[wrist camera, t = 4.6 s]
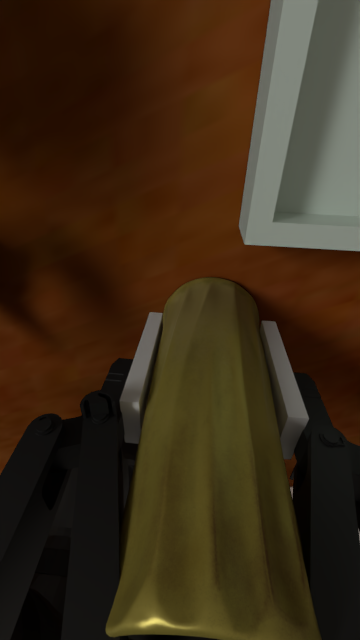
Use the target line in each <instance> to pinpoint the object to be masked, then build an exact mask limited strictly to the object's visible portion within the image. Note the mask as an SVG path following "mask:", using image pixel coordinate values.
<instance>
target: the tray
mask: <svg viewBox="0 0 360 640" xmlns="http://www.w3.org/2000/svg"><path fill="white" fill-rule="evenodd" d="M239 228H240V232H241V235H242V238H243V241H244V244H246V245H263V246H280V247H297V248H315V249H332V250H349V251H360V0H271V5H270V12H269V19H268V26H267V33H266V40H265V47H264V54H263V61H262V68H261V75H260V82H259V89H258V96H257V103H256V110H255V117H254V124H253V131H252V138H251V145H250V152H249V158H248V165H247V172H246V179H245V186H244V193H243V200H242V207H241V214H240V221H239Z"/></svg>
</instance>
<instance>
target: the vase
mask: <svg viewBox="0 0 360 640" xmlns="http://www.w3.org/2000/svg"><path fill="white" fill-rule="evenodd" d="M106 634H107V635H108V636H110V637H118V636H126V635H128V640H322V638H321V635H320V632H319V628H318V624H317V620H316V616H315V611H314V607H313V602H312V597H311V593H310V588H309V583H308V578H307V573H306V569H305V565H304V560H303V549H302V540H301V535H300V531H299V527H298V523H297V519H296V514H295V510H294V505H293V500H292V496H291V491H290V486H289V482H288V478H287V473H286V468H285V463H284V458H283V452H282V446H281V440H280V434H279V429H278V423H277V419H276V414H275V408H274V402H273V396H272V390H271V383H270V378H269V373H268V369H267V364H266V358H265V352H264V347H263V342H262V339H261V335H260V327H259V312H258V309H257V306H256V303H255V301H254V299H253V298H252V296H251V295H250V294H249V293H248V292H247V291H245V290H244V289H243V288H242V287H241V286H239V285H238V284H236V283H234V282H232V281H229V280H226V279H222V278H215V277H206V278H200V279H196V280H193V281H190V282H188V283H186V284H184V285H182V286H181V287H180V288H178V289H177V290H176V291H175V292H174V293H173V294H172V295H171V297H170V298H169V299H168V300H167V303H166V305H165V308H164V312H163V332H162V336H161V340H160V344H159V348H158V353H157V358H156V362H155V367H154V372H153V377H152V381H151V386H150V391H149V395H148V400H147V405H146V410H145V415H144V420H143V424H142V429H141V434H140V438H139V443H138V448H137V453H136V459H135V464H134V469H133V474H132V478H131V483H130V487H129V492H128V496H127V500H126V504H125V508H124V513H123V517H122V521H121V525H120V578H119V586H118V590H117V593H116V596H115V599H114V603H113V606H112V609H111V612H110V615H109V618H108V621H107V623H106Z"/></svg>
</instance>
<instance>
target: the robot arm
mask: <svg viewBox="0 0 360 640" xmlns="http://www.w3.org/2000/svg"><path fill="white" fill-rule="evenodd" d="M162 332H163V313H154V312H150V313H149V316H148V319H147V322H146V325H145V328H144V331H143V334H142V337H141V340H140V342H139V345H138V348H137V351H136V354H135V357H134V360H133V359H122V358H119V359H117V360H116V361H115V362H114V363H113V364H112V366H111V368H110V370H109V373H108V375H107V377H106V381H105V382H104V384H103V386H102V389H101V390H98V391H94V392H91V393H90V394H88V395H86V396H85V397H84V398H83V399H82V401H81V404H80V408H81V412H82V416H79V417H76V418H70V419H65V420H62V419H61V417H59V416H58V415H56V414H44V415H42V416H39V417H37V418H36V419H35V420H33V421H32V422H31V423H30V425H29V426H28V427H27V429H26V431H25V433H24V434H23V436H22V438H21V440H20V441H19V443H18V445H17V447H16V448H15V450H14V452H13V454H12V455H11V457H10V459H9V461H8V462H7V464H6V466H5V468H4V469H3V471H2V473H1V475H0V640H128V635H126V636H118V637H110V636H108V635H107V634H106V623H107V621H108V618H109V615H110V612H111V609H112V606H113V603H114V599H115V596H116V593H117V590H118V586H119V578H120V525H121V521H122V517H123V513H124V508H125V504H126V500H127V496H128V492H129V487H130V483H131V478H132V474H133V469H134V464H135V459H136V453H137V448H138V443H139V438H140V434H141V429H142V424H143V420H144V415H145V410H146V405H147V400H148V395H149V391H150V386H151V381H152V377H153V372H154V367H155V362H156V358H157V353H158V348H159V344H160V340H161V336H162ZM260 335H261V339H262V342H263V347H264V352H265V358H266V364H267V369H268V373H269V378H270V383H271V390H272V396H273V402H274V408H275V414H276V419H277V423H278V429H279V434H280V440H281V446H282V452H283V458H284V459H291V458H292V456H293V454H294V453H295V456H296V460H297V463H296V465H295V467H294V469H293V471H292V474H291V476H290V479H291V480H293V478H294V483H293V505H294V510H295V514H296V519H297V523H298V527H299V531H300V535H301V540H302V549H303V560H304V565H305V569H306V573H307V578H308V583H309V588H310V593H311V597H312V602H313V607H314V611H315V616H316V620H317V624H318V628H319V632H320V635H321V638H322V640H360V541H359V533H358V528H359V531H360V446H358V445H355V444H353V443H350V442H348V441H347V439H346V438H345V437H344V435H343V434H342V433H341V432H340V431H338V430H337V429H336V428H334V427H333V425H332V423H331V420H330V418H329V416H328V413H327V411H326V409H325V406H324V404H323V401H322V399H321V397H320V394H319V392H318V389H317V387H316V385H315V382H314V381H313V380H312V379H311V378H310V377H309V376H308V374H306V373H294V372H293V371H292V368H291V365H290V362H289V359H288V357H287V354H286V351H285V348H284V345H283V342H282V339H281V336H280V333H279V331H278V328H277V325H276V322H275V321H262V322H261V327H260Z"/></svg>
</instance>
